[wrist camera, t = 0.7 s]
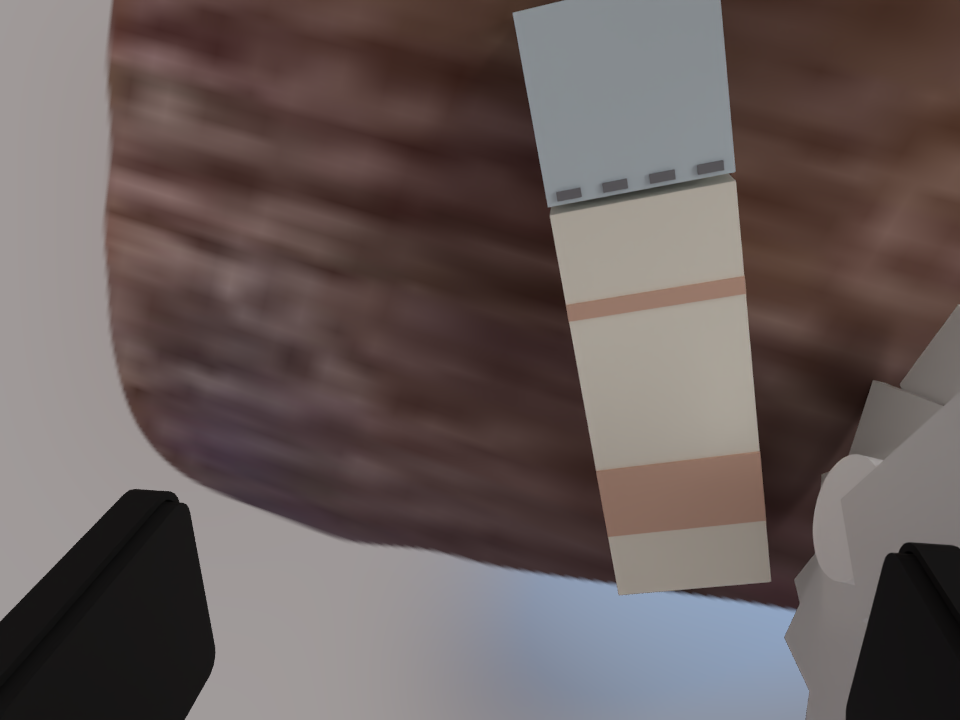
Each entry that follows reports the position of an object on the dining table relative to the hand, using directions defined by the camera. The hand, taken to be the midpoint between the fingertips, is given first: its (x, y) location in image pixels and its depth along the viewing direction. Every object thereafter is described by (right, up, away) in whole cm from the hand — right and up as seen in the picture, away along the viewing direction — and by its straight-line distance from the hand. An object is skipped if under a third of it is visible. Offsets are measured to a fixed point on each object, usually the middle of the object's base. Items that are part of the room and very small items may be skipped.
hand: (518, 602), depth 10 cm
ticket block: (+7, +3, +22) cm, 23 cm away
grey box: (+5, +14, +18) cm, 23 cm away
